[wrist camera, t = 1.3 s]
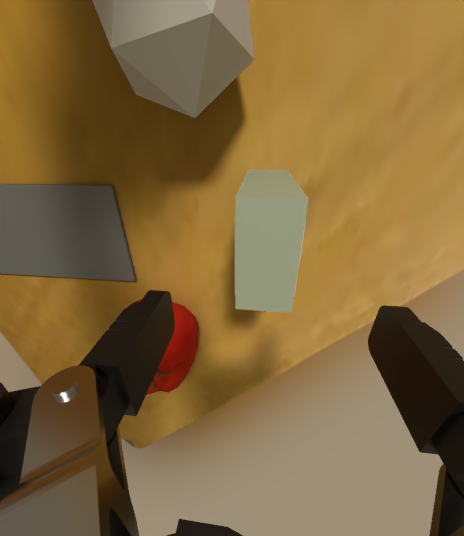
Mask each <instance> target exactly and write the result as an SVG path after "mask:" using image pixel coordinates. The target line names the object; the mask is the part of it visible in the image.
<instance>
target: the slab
mask: <svg viewBox="0 0 464 536" xmlns="http://www.w3.org/2000/svg"><path fill="white" fill-rule="evenodd" d="M307 206H308V197H307V196H306V195H305V193H304V192H303V190H302V189H301V188H300V186H299V185H298V184H297V182H296V181H295V179H294V178H293V177H292V175H291V174H290V173H289V171H288V170H248V171H247V173H246V175H245V177H244V180H243V182H242V184H241V186H240V189H239V191H238V193H237V195H236V215H235V295H236V309H243V310H257V311H272V312H286V313H291V312H292V305H293V299H294V296H295V289H296V282H297V276H298V269H299V263H300V256H301V249H302V243H303V236H304V230H305V223H306V212H307Z"/></svg>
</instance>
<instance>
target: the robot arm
mask: <svg viewBox="0 0 464 536" xmlns="http://www.w3.org/2000/svg"><path fill="white" fill-rule="evenodd" d="M174 330H175V318H174V312H173V306H172V300H171V294H170V292H168V291H154V290H150V291H148V292H147V294H146V295H145V296H144V298H143V299H142V300H141V302H135V303H133V304H132V305H130V306H129V307H127V308H126V309H124V310H123V311H122V313H121V314H120V315H119V316H118V318H117V319H116V322H114V323H113V324H112V325H111V326H110V327H109V330H107V331H106V332H105V334H104V335H103V336H102V337H101V339H100V340H99V341H98V342H97V343H96V345H95V346H94V347H93V348H92V350H91V351H90V352H89V353H88V355H87V356H86V357H85V358H84V359H83V361H82V362H81V363H80V364H79V365H78V366H72V367H69V368H66V369H64V370H61V371H59V372H58V373H56V374H54V375H53V376H51V377H50V378H49V379H48V380H46V381H45V382H44V383H43V384H42V385H41V386H39V387H34V388H28V389H23V390H18V391H13V392H8V391H7V390H6V388H5V387H4V386H3V384H2V383H0V536H139V532H138V526H137V521H136V517H135V513H134V510H133V506H132V503H131V499H130V495H129V490H128V483H127V476H126V470H125V463H124V457H123V451H122V445H121V437H120V431H119V427H118V426H119V424H120V422H121V420H122V418H123V416H124V415H132V416H137V413H138V411H139V409H140V407H141V405H142V402H143V400H144V398H145V396H146V394H147V391H148V389H149V387H150V385H151V383H152V380H153V378H154V376H155V374H156V372H157V369H158V367H159V365H160V363H161V361H162V359H163V356H164V354H165V352H166V350H167V348H168V345H169V343H170V341H171V339H172V337H173V334H174ZM368 346H369V351H370V354H371V356H372V358H373V360H374V362H375V363H376V365H377V368H378V370H379V372H380V373H381V376H382V378H383V379H384V382H385V384H386V385H387V387H388V389H389V392H390V394H391V396H392V398H393V399H394V402H395V404H396V405H397V407H398V409H399V412H400V413H401V415H402V417H403V420H404V422H405V424H406V425H407V427H408V429H409V432H410V434H411V436H412V438H413V440H414V442H415V444H416V446H417V448H418V449H419V451H420V452H423V453H431V454H439V456H440V458H441V460H442V461H443V463H444V464H443V465H442V466H441V467H440V470H439V475H438V482H437V489H436V495H435V502H434V509H433V516H432V522H431V529H430V535H429V536H464V361H463V358H462V357H461V356H460V355H459V353H458V352H457V351H456V350H455V349H452V346H451V345H450V344H449V342H448V341H447V340H446V339H445V338H444V337H443V336H442V335H441V334H440V333H439V332H437V331H436V330H434V329H433V328H432V327H430V326H429V325H427V324H426V323H424V322H421V321H420V320H419V319H418V318H417V316H416V315H415V314H414V313H413V312H412V311H411V310H410V309H409V308H408V307H399V306H382V307H380V309H379V311H378V313H377V316H376V319H375V321H374V324H373V327H372V329H371V332H370V335H369V339H368ZM167 536H242V535H241V534H239V533H237V532H236V531H234V530H232V529H230V528H229V527H224V526H218V525H212V524H206V523H200V522H194V521H188V520H182V519H179V521H178V526H177V530H176V533H175V534H171V535H167Z"/></svg>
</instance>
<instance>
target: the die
mask: <svg viewBox="0 0 464 536" xmlns="http://www.w3.org/2000/svg"><path fill="white" fill-rule="evenodd" d="M92 1H93V4H94V6H95V9H96V11H97V14H98V16H99V19H100V22H101V24H102V27H103V29H104V32H105V34H106V37H107V39H108V42H109V44H110V47H111V49H112V51H113V53H114V55H115V57H116V58H117V60H118V62H119V64H120V66H121V68H122V70H123V72H124V74H125V75H126V77H127V79H128V81H129V83H130V85H131V87H132V89H133V90H134V92H135V94H136V95H138V96H140V97H143V98H145V99H148V100H150V101H153V102H155V103H158V104H160V105H163V106H165V107H168V108H170V109H173V110H175V111H178V112H180V113H183V114H185V115H188V116H190V117H193V118H196V117H197V116H198V115H199V114H200V113H201V112H202V111H203V110H204V109H205V108H206V107H207V106H208V105H209V104H210V103H211V102H212V101H213V100H214V99H215V98H216V97H217V96H218V95H219V94H220V93H221V92H222V91H223V90H224V89H225V88H226V87H227V86H228V85H229V84H230V83H231V82H232V81H233V80H234V79H235V78H236V77H237V76H238V75H239V74H240V73H241V72H242V71H243V70H244V69H245V68H246V67H247V66H248V65H249V64H250V63H251V62H252V61H253V60H254V51H253V42H252V34H251V26H250V17H249V9H248V1H247V0H92Z"/></svg>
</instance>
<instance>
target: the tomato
mask: <svg viewBox="0 0 464 536" xmlns="http://www.w3.org/2000/svg"><path fill="white" fill-rule="evenodd" d="M136 302H141V300H139V301H136ZM134 303H135V302H134ZM132 304H133V303H132ZM132 304H131V305H132ZM172 306H173V312H174V318H175V330H174V334H173V337H172V339H171V341H170V343H169V345H168V348H167V350H166V352H165V354H164V356H163V359H162V361H161V363H160V365H159V367H158V369H157V372H156V374H155V376H154V378H153V380H152V383H151V385H150V387H149V389H148V391H147V394H150V393H154V392H157V391H164V392H170V391H172V390H173V389H175V388H177V387H178V386H179V385H180V384H181V383H182V381H183V380H184V379H185V377H186V376H187V374H188V372H189V370H190V368H191V366H192V364H193V361H194V358H195V355H196V351H197V346H198V335H197V331H198V323H197V321H196V319H195V316H194V315H193V314H192V313H191V312H190V311H189V310H188V309H187V308H186V307H184V306H182V305H179V304H175V303H172ZM147 394H146V395H147Z"/></svg>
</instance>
